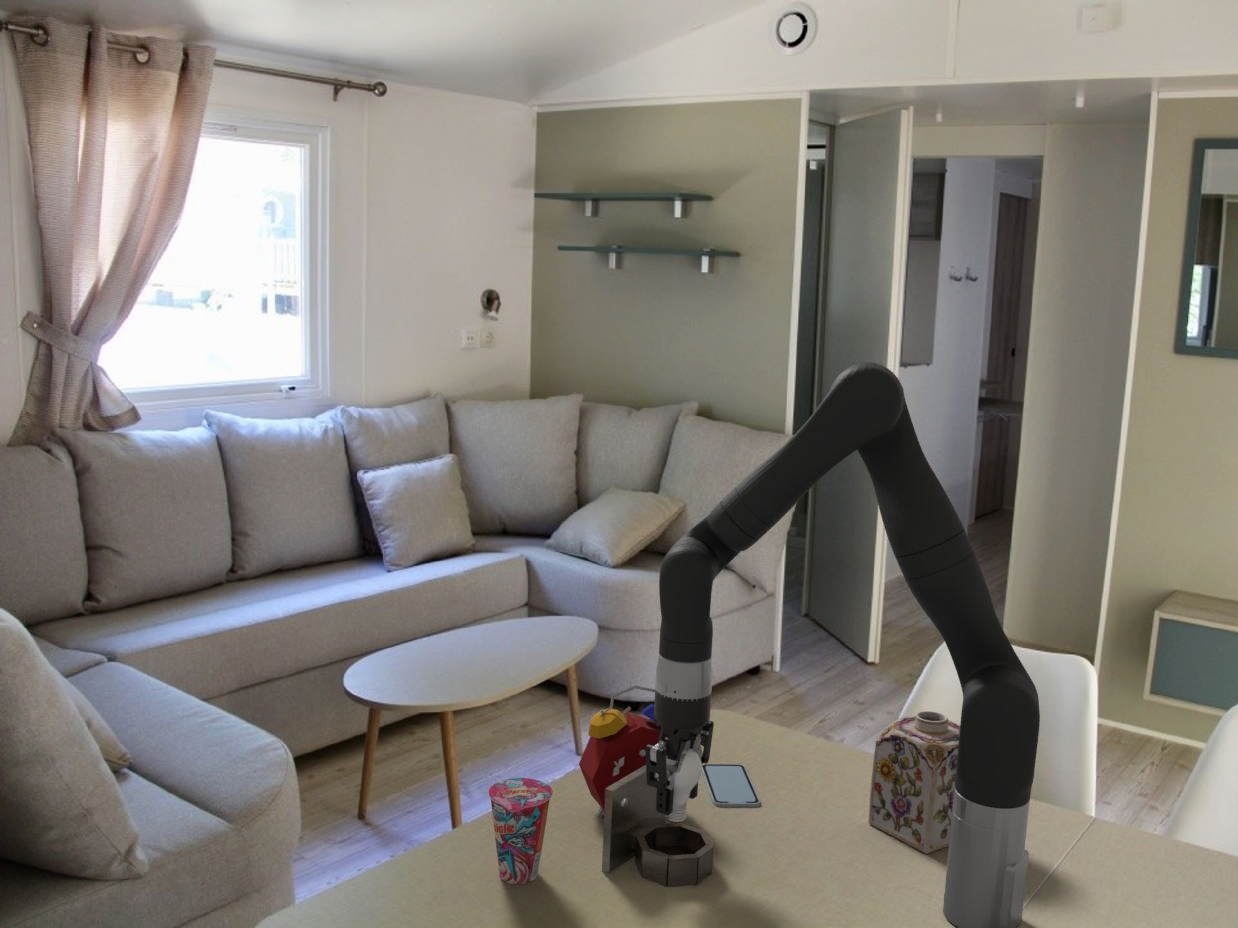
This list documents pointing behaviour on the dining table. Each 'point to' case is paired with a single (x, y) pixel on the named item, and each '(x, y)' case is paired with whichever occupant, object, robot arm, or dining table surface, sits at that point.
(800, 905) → the dining table surface
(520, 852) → the cup
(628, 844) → the bracket
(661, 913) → the dining table surface
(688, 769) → the lightbulb
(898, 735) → the decorative jar
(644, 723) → the alarm clock
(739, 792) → the smartphone
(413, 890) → the dining table surface
